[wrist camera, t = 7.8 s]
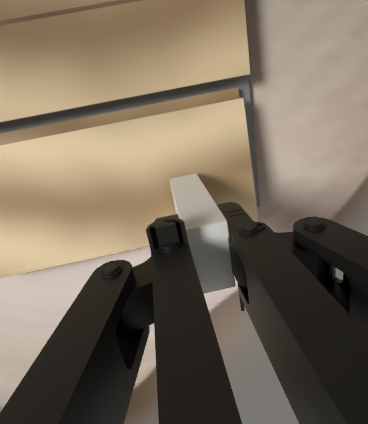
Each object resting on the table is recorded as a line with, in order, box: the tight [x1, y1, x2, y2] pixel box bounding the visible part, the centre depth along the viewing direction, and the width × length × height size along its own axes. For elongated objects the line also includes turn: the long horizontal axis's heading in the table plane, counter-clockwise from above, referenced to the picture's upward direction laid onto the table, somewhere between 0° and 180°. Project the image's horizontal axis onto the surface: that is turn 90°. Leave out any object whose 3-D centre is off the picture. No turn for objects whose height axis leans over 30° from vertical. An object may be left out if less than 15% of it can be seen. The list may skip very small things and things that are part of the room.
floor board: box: [0, 0, 250, 122], centre depth 14 cm, size 8×18×1 cm, turn 100°
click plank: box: [0, 87, 259, 278], centre depth 17 cm, size 8×17×1 cm, turn 100°
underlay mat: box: [0, 74, 260, 207], centre depth 16 cm, size 17×20×1 cm
